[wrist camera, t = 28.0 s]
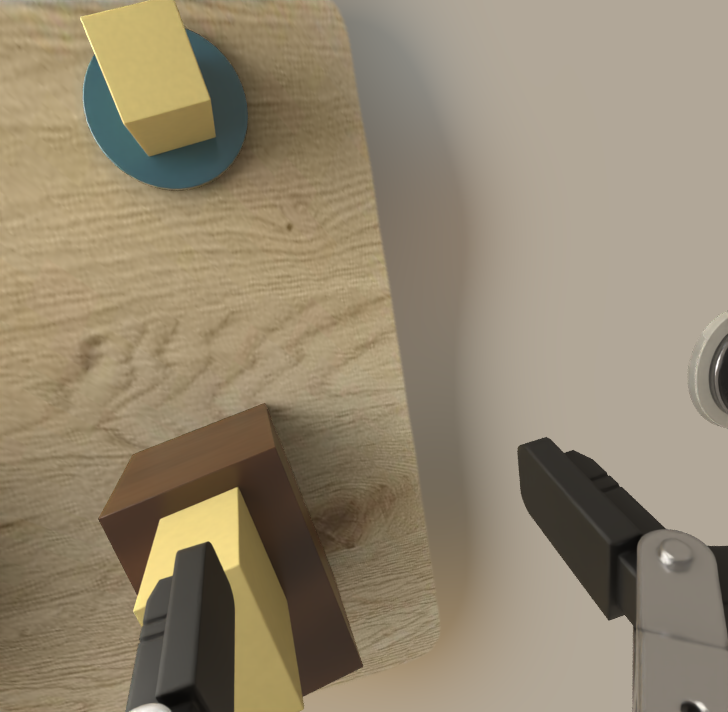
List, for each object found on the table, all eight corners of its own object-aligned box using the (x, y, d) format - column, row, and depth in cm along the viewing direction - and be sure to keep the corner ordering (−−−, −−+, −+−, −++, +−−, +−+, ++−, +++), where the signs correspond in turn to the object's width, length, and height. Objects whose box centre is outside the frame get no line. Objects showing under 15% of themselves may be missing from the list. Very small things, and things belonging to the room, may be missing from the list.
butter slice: (216, 137, 34) (211, 100, 27) (148, 157, 33) (123, 124, 26) (186, 57, 33) (172, -6, 25) (116, 75, 32) (79, 16, 25)
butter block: (287, 600, 31) (304, 709, 23) (214, 634, 30) (208, 758, 23) (238, 486, 29) (239, 563, 22) (159, 518, 28) (132, 611, 21)
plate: (167, -6, 33) (165, -14, 32) (278, 123, 36) (279, 119, 35) (50, 99, 33) (44, 94, 32) (172, 222, 35) (170, 221, 34)
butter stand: (334, 577, 43) (363, 667, 33) (216, 631, 41) (211, 742, 31) (265, 402, 39) (275, 446, 29) (132, 454, 37) (97, 519, 28)
